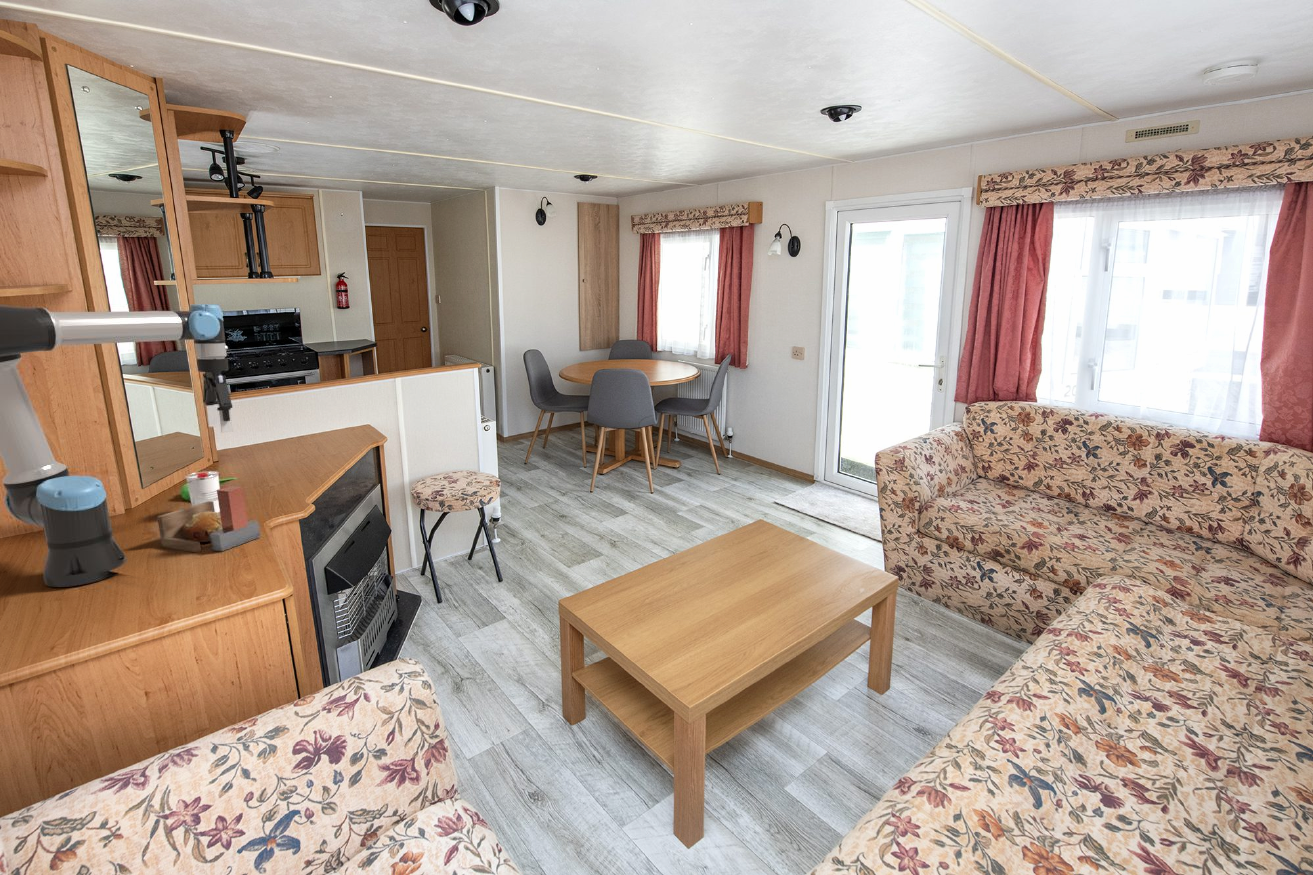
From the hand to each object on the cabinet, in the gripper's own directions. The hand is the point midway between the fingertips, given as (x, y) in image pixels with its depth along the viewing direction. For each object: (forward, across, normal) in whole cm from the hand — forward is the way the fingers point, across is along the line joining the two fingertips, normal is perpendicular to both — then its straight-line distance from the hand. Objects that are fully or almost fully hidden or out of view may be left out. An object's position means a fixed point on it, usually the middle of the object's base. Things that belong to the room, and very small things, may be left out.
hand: (220, 429), depth 191 cm
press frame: (+26, -24, +11) cm, 37 cm away
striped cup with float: (+26, +4, +5) cm, 27 cm away
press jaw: (+26, -34, +7) cm, 43 cm away
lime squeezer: (+26, +25, 0) cm, 36 cm away
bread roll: (+26, -24, +11) cm, 38 cm away
